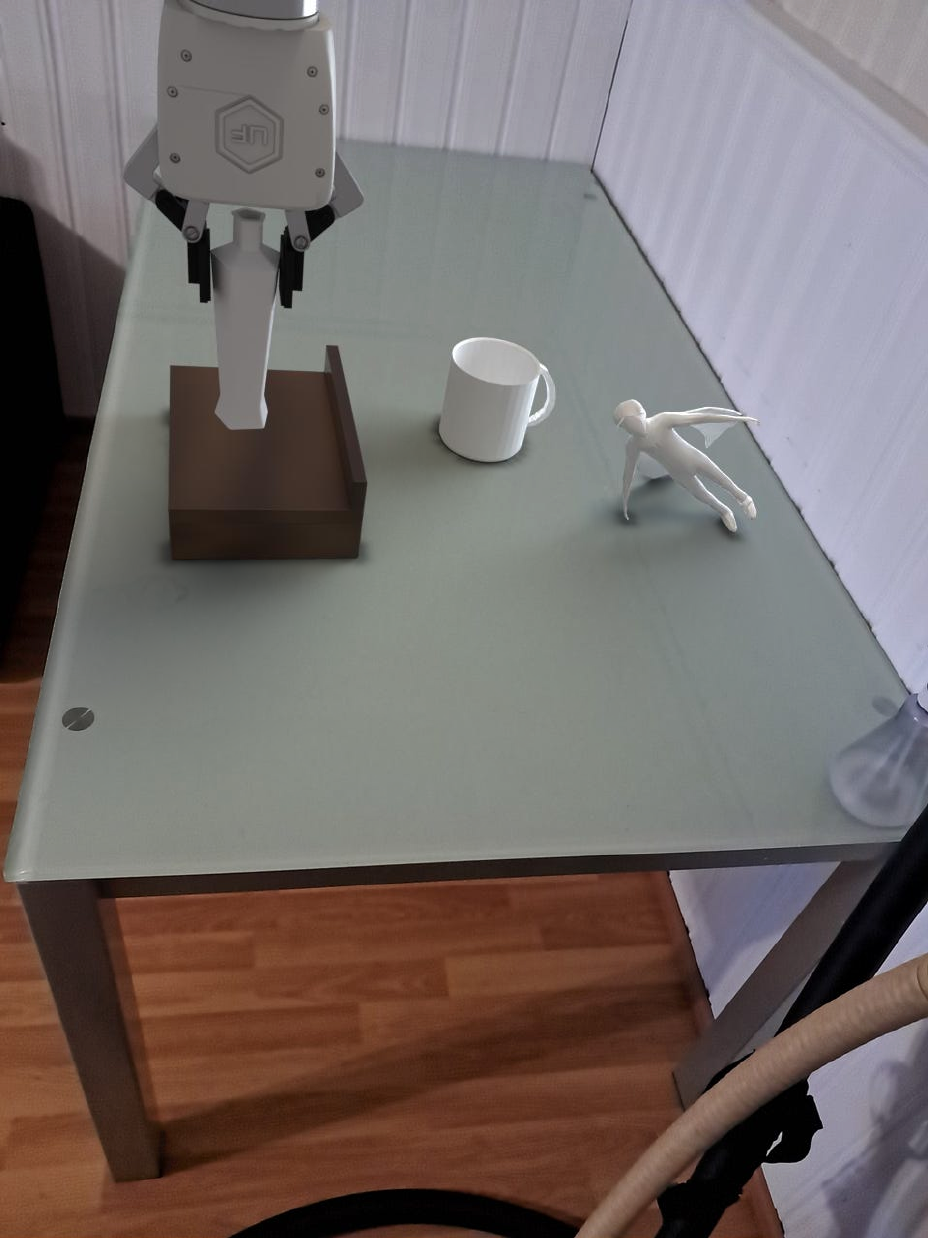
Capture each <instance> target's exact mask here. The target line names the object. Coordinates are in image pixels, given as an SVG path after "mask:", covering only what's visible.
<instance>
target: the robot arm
mask: <svg viewBox="0 0 928 1238" xmlns="http://www.w3.org/2000/svg"><path fill="white" fill-rule="evenodd" d="M319 8H320V0H163V5H162V9H161V17H160V24H159V34H158V49H157V63H156V64H157V66H156V68H157V69H156V71H157V72H156V73H157V74H156V77H157V83H156V86H157V87H156V89H157V91H156V97H157V99H156V106H157V107H156V114H157V115H156V116H157V117H156V118H157V121H156V123H155V125H154V126H153V127H152V129H151V130H150V131H149V133H148V134H147V135H146V137H145V138H144V140H143V141H142V142H141V144H140V145H139V146H138V147H137V149H136V150H135V151H134V152H133V154H132V155H131V157H130V158H129V160H128V161H126V163H125V165H124V170H123V180H124V182H125V184H127V185H128V186H129V187H131V189H133V190H134V191H136V192H137V193H138V194H139V195H141V196H142V197H144V198H145V199H146V200H147V201H149V202H151V203H152V204H154V205H155V207H156V209H157V210H158V211H159V212H160V213H161V214H162V215H163V216H164V217H165V218H166V219H167V220H168V221H169V222H170V223H171V224H172V225H173V226H174V227H175V228H176V229H177V230H178V231H179V232H181V236H182V238H183V240H185V241H186V250H187V251H186V254H187V282H188V284H193V285H199V288H198V289H199V303H200V304H208V303H209V302H211V301H212V285H211V284H212V283H211V281H212V270H211V255H210V250H211V228H209V227H208V226H207V225H208V224H207V221H208V220H207V216H208V213H209V210H210V209H209V208H210V205H211V204H219V205H227V206H228V205H229V206H238V207H239V206H240V207H248V208H260V209H273V210H284V214H285V220H286V223H287V225H285V226H284V230H283V234H280V238H279V239H280V240H279V241H280V242H279V252H280V254H281V257H280V266H279V274H278V293H279V302H280V307H283V309H291V310H292V309H293V294H294V293H293V292H303V286H304V272H305V271H304V269H305V253H306V252H307V250H309V249H310V247H311V243H312V242H314V241H315V239H317V238H318V237H320V236H321V235H322V234H323V233H324V232H325V231H327V230H328V229H329V228H330V227H331V226H333V224H334V223H335V221H337V220H338V219H341V218H343V217H345V216H346V215H348V214H350V213H351V212H353V211H354V210H356V209H357V208H360V207H361V206H362V205H363V203H364V202H365V201H364V199H365V198H364V194H363V190H362V188H361V186H360V184H359V183H358V181H357V180H356V177H355V176H354V174H353V173H352V171H351V169H350V168H349V166H348V164H347V163H346V161H345V159H344V157H343V156H342V154H341V153H340V150H339V149H338V147H337V146H336V143H337V140H336V139H337V66H336V65H337V63H336V49H335V40H334V39H335V37H334V30H333V25H332V22H331V21H330V20H329V18H328V17H327V15H326V14H325V13H323V12H322V11H320V10H319ZM158 167H159V173H160V175H158V174H157V173H156V169H157V168H158ZM334 187H335V188H334Z"/></svg>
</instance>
